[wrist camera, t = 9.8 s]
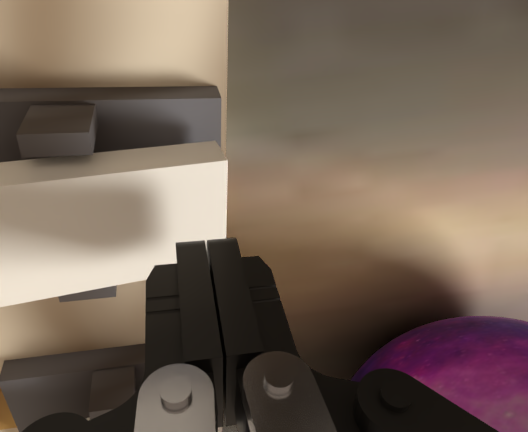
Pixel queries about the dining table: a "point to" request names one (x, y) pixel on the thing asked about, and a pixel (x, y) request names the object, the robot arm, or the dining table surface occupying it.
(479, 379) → the decorative orb
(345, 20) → the dining table surface
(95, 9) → the switch board
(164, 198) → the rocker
